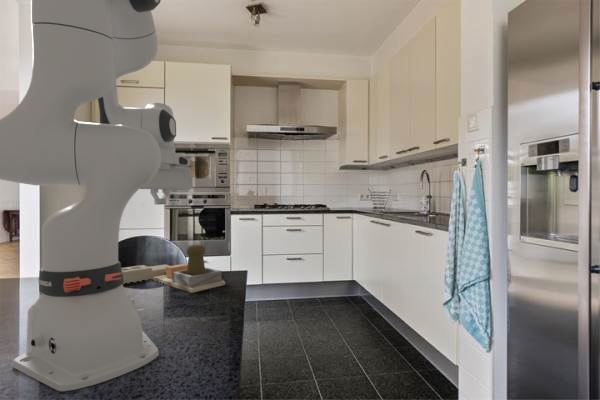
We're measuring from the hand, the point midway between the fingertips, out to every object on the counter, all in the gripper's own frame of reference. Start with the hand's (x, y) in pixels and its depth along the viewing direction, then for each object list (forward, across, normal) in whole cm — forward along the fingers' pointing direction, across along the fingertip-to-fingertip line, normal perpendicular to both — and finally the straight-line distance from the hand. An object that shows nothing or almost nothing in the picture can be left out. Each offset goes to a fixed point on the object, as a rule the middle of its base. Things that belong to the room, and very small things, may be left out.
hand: (160, 204), depth 102 cm
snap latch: (+22, +6, +1) cm, 23 cm away
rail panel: (+24, +6, -5) cm, 25 cm away
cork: (+23, +6, -10) cm, 26 cm away
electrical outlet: (+24, -1, +11) cm, 27 cm away
